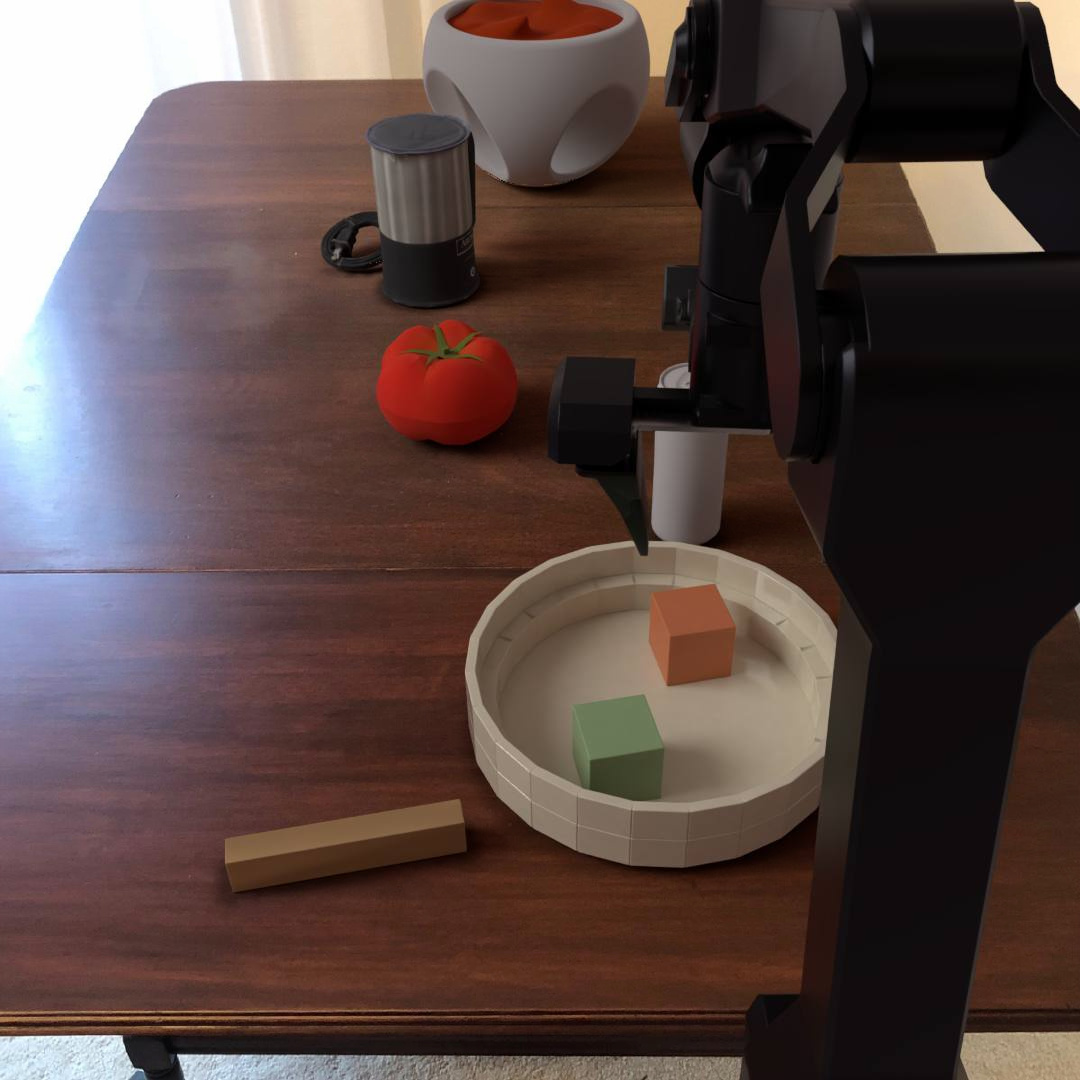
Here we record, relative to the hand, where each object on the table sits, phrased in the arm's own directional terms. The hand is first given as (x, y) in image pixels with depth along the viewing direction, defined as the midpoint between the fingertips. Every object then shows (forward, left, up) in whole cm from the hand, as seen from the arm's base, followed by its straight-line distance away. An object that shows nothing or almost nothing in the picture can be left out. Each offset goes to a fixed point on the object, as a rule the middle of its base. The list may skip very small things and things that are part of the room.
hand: (733, 555), depth 63 cm
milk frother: (+62, +11, -13) cm, 64 cm away
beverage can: (+18, -4, -13) cm, 22 cm away
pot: (+84, -7, -13) cm, 85 cm away
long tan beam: (-5, +21, -12) cm, 25 cm away
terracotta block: (+5, 0, -12) cm, 13 cm away
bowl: (+1, +3, -12) cm, 13 cm away
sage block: (-3, +7, -12) cm, 14 cm away
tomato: (+35, +10, -13) cm, 38 cm away
